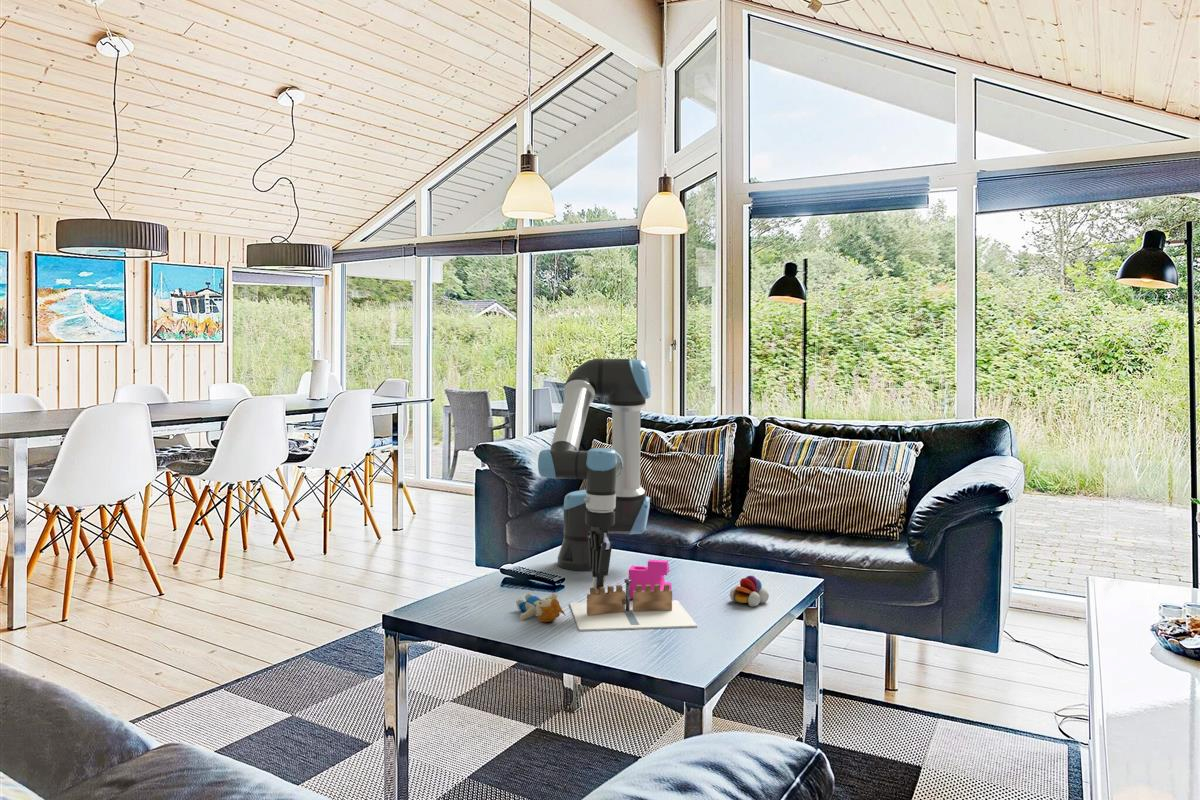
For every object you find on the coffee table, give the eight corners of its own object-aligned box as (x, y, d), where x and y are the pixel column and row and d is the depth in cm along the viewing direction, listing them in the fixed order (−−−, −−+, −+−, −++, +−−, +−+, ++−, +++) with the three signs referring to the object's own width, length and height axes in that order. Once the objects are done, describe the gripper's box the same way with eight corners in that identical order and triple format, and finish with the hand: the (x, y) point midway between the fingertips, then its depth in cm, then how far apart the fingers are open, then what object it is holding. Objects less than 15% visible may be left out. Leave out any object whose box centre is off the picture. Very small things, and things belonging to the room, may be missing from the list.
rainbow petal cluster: (725, 603, 229) (726, 576, 229) (745, 595, 236) (746, 569, 236) (752, 610, 223) (753, 582, 223) (772, 602, 230) (772, 575, 230)
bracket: (666, 600, 229) (666, 562, 228) (628, 598, 231) (628, 560, 230) (671, 590, 240) (672, 553, 240) (635, 587, 242) (636, 551, 242)
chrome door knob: (623, 610, 220) (623, 579, 220) (630, 609, 220) (630, 578, 220) (624, 612, 218) (625, 580, 218) (631, 611, 219) (632, 580, 218)
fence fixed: (633, 611, 219) (634, 586, 219) (632, 610, 220) (633, 584, 220) (671, 610, 220) (672, 585, 220) (670, 608, 222) (671, 583, 221)
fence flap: (623, 609, 220) (623, 584, 219) (626, 611, 218) (626, 586, 218) (586, 613, 216) (586, 587, 216) (588, 615, 214) (589, 589, 214)
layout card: (570, 604, 225) (570, 602, 225) (677, 601, 229) (677, 599, 229) (579, 631, 205) (579, 629, 204) (697, 627, 209) (697, 625, 209)
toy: (539, 581, 224) (569, 589, 211) (547, 601, 225) (578, 610, 212) (502, 605, 217) (531, 614, 205) (511, 625, 218) (540, 636, 206)
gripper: (578, 505, 221) (576, 594, 223) (594, 515, 210) (592, 609, 211) (605, 504, 224) (603, 592, 226) (623, 514, 212) (620, 606, 214)
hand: (597, 600), depth 219 cm, fingers closed
